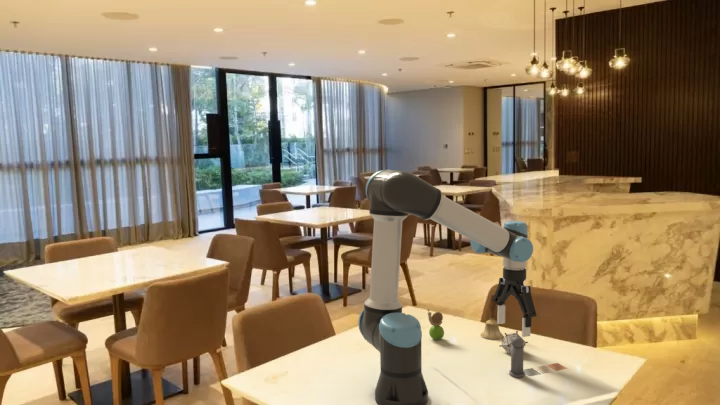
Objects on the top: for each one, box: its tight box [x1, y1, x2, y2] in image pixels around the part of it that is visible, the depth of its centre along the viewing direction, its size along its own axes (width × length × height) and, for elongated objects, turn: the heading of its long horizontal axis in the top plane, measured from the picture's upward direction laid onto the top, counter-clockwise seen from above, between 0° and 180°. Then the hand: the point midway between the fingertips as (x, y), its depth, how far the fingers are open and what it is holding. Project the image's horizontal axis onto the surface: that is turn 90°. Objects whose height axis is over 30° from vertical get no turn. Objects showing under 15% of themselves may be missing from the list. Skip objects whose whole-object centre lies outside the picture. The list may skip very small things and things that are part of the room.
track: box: [506, 362, 568, 380], centre depth 168 cm, size 21×7×1 cm, turn 110°
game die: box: [499, 330, 529, 356], centre depth 183 cm, size 9×8×10 cm
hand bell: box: [480, 293, 504, 341], centre depth 201 cm, size 8×8×16 cm
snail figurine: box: [427, 308, 445, 341], centre depth 199 cm, size 5×6×12 cm
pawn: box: [508, 336, 526, 379], centre depth 165 cm, size 5×5×12 cm
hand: (513, 329), depth 182 cm, fingers open, 13 cm apart
